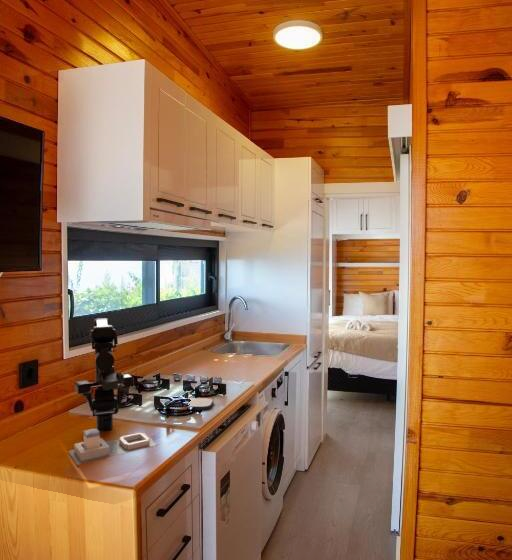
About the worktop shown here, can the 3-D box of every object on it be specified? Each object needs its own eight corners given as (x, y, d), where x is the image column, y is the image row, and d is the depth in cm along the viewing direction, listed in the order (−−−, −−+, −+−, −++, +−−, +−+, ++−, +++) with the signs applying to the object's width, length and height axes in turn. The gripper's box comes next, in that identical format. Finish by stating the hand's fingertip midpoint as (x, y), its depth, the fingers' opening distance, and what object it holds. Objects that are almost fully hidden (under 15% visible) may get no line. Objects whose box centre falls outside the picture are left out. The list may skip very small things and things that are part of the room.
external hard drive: (153, 410, 202) (153, 406, 202) (160, 402, 213) (160, 397, 213) (210, 411, 200) (210, 406, 200) (214, 402, 211) (214, 398, 211)
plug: (84, 452, 158) (83, 430, 157) (96, 449, 160) (96, 428, 159) (87, 456, 154) (86, 434, 154) (100, 453, 156) (99, 432, 156)
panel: (68, 453, 159) (67, 443, 159) (145, 436, 173) (145, 426, 173) (77, 467, 149) (77, 456, 149) (158, 447, 163) (158, 437, 163)
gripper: (81, 372, 154) (83, 420, 155) (139, 363, 164) (140, 409, 165) (73, 365, 163) (74, 411, 164) (128, 357, 173) (129, 401, 175)
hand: (105, 408), depth 167 cm, fingers open, 9 cm apart
